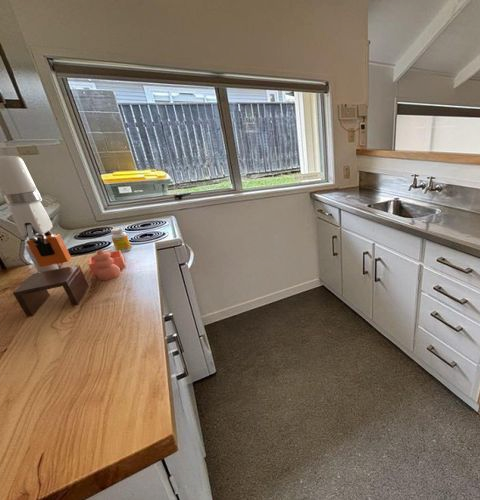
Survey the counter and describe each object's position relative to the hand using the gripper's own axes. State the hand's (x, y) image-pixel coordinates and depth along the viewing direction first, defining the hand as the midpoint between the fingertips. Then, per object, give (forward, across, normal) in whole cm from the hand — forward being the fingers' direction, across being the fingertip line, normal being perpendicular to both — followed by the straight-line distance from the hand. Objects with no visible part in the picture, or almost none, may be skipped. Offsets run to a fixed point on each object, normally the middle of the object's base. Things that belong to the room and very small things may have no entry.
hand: (50, 252), depth 94 cm
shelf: (+11, +16, +3) cm, 20 cm away
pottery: (+11, -1, +12) cm, 17 cm away
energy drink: (+11, -12, -7) cm, 18 cm away
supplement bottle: (+11, -24, +14) cm, 30 cm away
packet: (+4, 0, 0) cm, 4 cm away
